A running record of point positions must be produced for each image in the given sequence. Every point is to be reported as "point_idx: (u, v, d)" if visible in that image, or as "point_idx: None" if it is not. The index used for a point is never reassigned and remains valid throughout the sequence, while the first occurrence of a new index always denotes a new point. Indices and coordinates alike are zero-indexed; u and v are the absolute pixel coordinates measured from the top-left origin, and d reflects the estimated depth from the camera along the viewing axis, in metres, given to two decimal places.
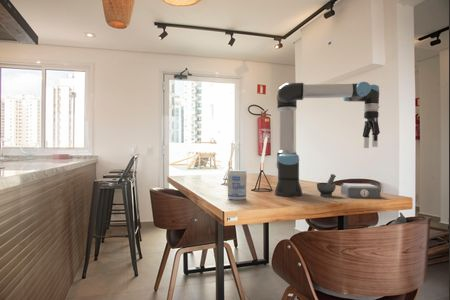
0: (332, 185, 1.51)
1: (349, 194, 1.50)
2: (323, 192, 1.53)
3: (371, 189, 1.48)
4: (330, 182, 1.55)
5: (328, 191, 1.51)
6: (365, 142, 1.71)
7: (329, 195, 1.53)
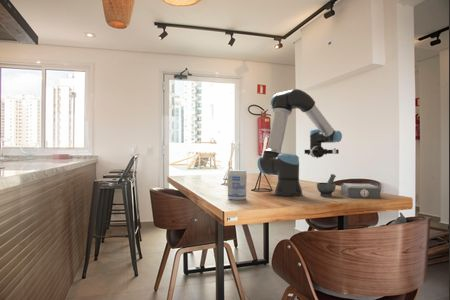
0: (332, 185, 1.51)
1: (349, 194, 1.50)
2: (323, 192, 1.53)
3: (371, 189, 1.48)
4: (330, 182, 1.55)
5: (328, 191, 1.51)
6: (311, 150, 1.71)
7: (329, 195, 1.53)
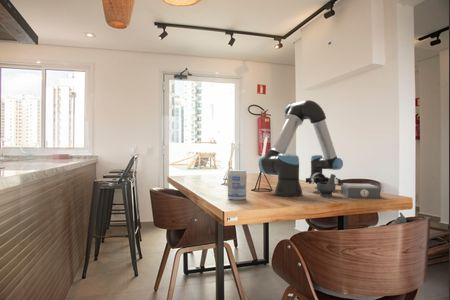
0: (332, 185, 1.51)
1: (349, 194, 1.50)
2: (323, 192, 1.53)
3: (371, 189, 1.48)
4: (330, 182, 1.55)
5: (328, 191, 1.51)
6: None
7: (329, 195, 1.53)
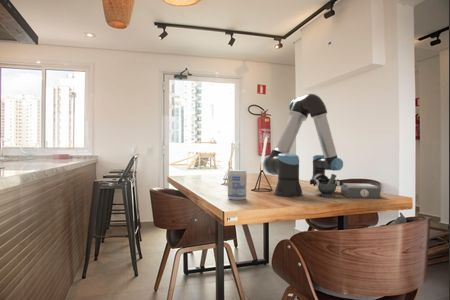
0: (333, 185, 1.51)
1: (349, 194, 1.50)
2: (324, 192, 1.53)
3: (371, 189, 1.48)
4: (331, 182, 1.55)
5: (329, 191, 1.51)
6: None
7: (330, 195, 1.52)
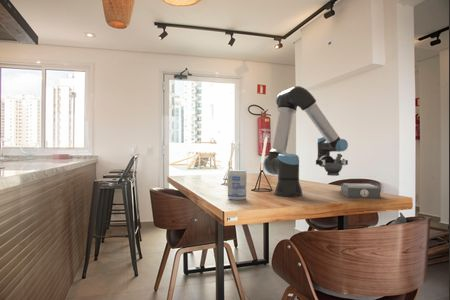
0: (339, 164, 1.52)
1: (349, 194, 1.50)
2: (330, 171, 1.53)
3: (371, 189, 1.48)
4: (337, 161, 1.56)
5: (335, 170, 1.52)
6: None
7: (336, 174, 1.53)
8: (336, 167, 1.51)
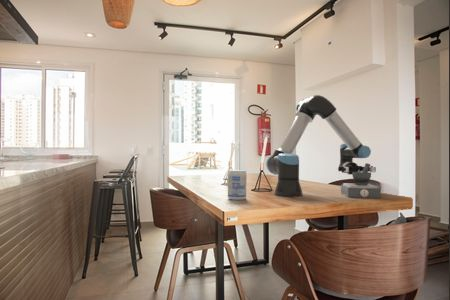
0: (369, 173, 1.53)
1: (349, 194, 1.50)
2: (360, 180, 1.54)
3: (371, 189, 1.48)
4: (365, 171, 1.57)
5: (365, 179, 1.53)
6: None
7: (365, 183, 1.54)
8: (366, 176, 1.52)
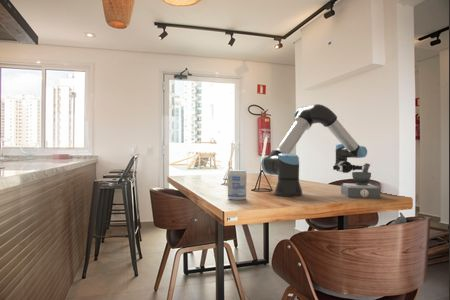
0: (369, 174, 1.53)
1: (349, 194, 1.50)
2: (360, 181, 1.54)
3: (371, 189, 1.48)
4: (365, 171, 1.57)
5: (365, 180, 1.53)
6: None
7: (365, 184, 1.54)
8: (366, 177, 1.52)
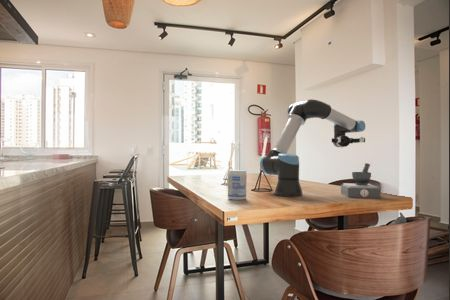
0: (369, 174, 1.53)
1: (349, 194, 1.50)
2: (360, 181, 1.54)
3: (371, 189, 1.48)
4: (365, 171, 1.57)
5: (365, 180, 1.53)
6: None
7: (365, 184, 1.54)
8: (366, 177, 1.52)
